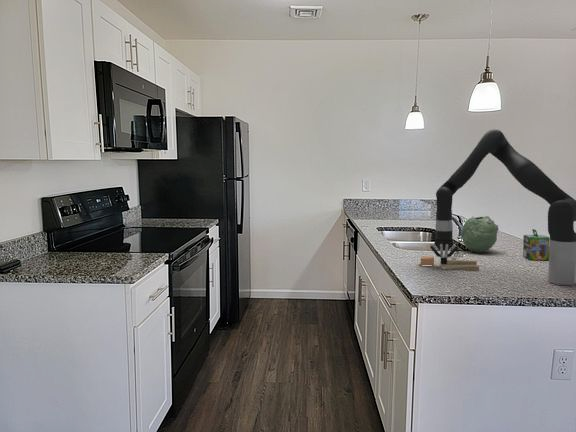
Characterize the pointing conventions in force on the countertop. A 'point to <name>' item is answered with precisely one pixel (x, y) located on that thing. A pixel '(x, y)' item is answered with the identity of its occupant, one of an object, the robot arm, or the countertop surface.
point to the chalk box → (536, 247)
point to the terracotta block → (427, 260)
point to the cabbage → (479, 234)
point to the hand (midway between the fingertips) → (443, 265)
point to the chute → (461, 265)
